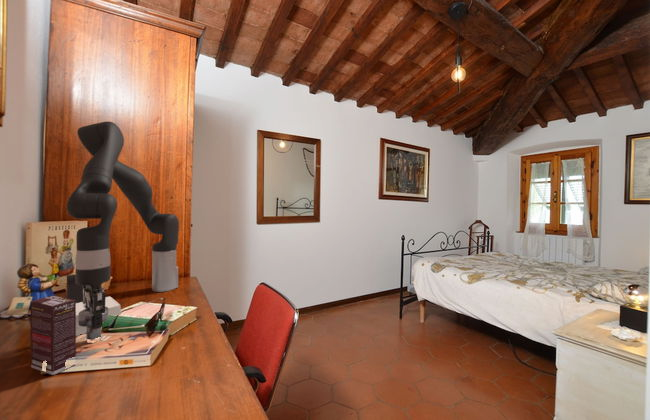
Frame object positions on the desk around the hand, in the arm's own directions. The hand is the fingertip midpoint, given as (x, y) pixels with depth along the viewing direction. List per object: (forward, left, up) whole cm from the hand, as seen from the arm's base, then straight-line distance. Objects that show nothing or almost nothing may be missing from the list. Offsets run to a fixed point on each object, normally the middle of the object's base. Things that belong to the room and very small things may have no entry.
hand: (93, 324), depth 78 cm
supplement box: (+9, +8, -5) cm, 13 cm away
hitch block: (-2, -13, -5) cm, 14 cm away
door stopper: (-2, -34, -5) cm, 34 cm away
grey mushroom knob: (0, 0, -5) cm, 5 cm away
